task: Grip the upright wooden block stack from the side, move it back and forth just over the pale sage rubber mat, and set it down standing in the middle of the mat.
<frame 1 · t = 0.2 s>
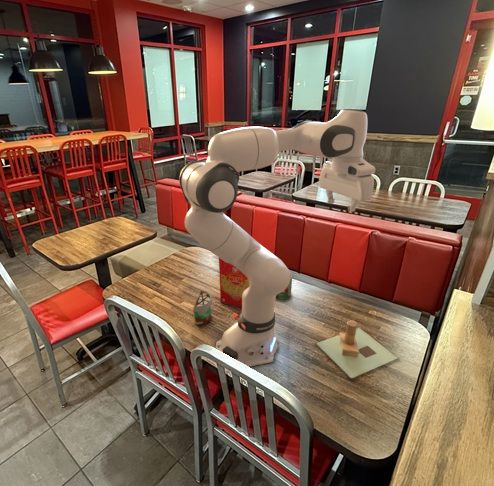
hand: (340, 206, 103), 48 cm above the table, tool pointing down, fingers open, 8 cm apart
food packaging: (238, 303, 138), on the table
wooden block stack: (347, 346, 110), point 1 cm above the table, touching mat
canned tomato: (281, 296, 141), on the table
mat: (355, 352, 108), on the table
food container: (205, 319, 129), on the table
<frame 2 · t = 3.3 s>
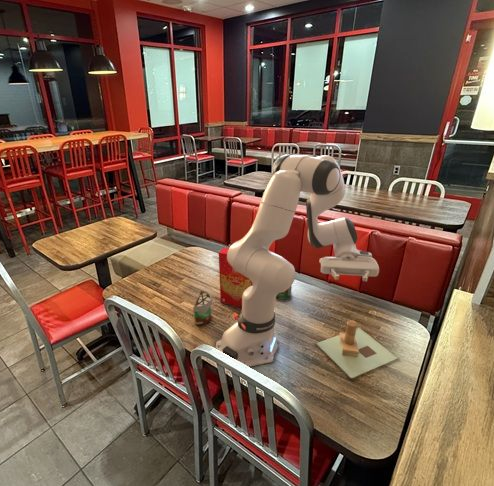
hand: (350, 278, 112), 21 cm above the table, tool horizontal, fingers open, 8 cm apart
nothing on the table moved.
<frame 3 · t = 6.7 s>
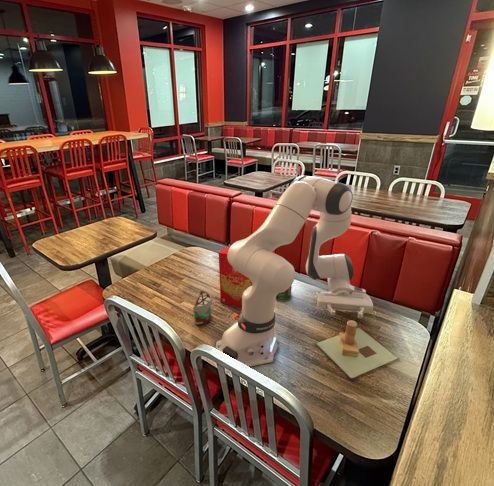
hand: (346, 315, 115), 8 cm above the table, tool horizontal, fingers open, 8 cm apart
nothing on the table moved.
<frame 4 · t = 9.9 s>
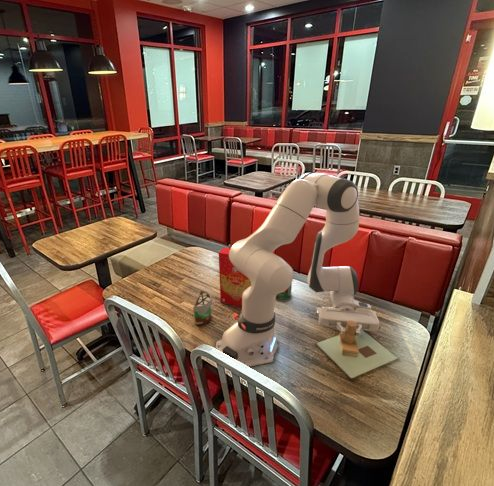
hand: (350, 334, 106), 7 cm above the table, tool horizontal, fingers closed on wooden block stack, 3 cm apart
wooden block stack: (347, 346, 110), point 1 cm above the table, touching gripper, mat
everything else where it was.
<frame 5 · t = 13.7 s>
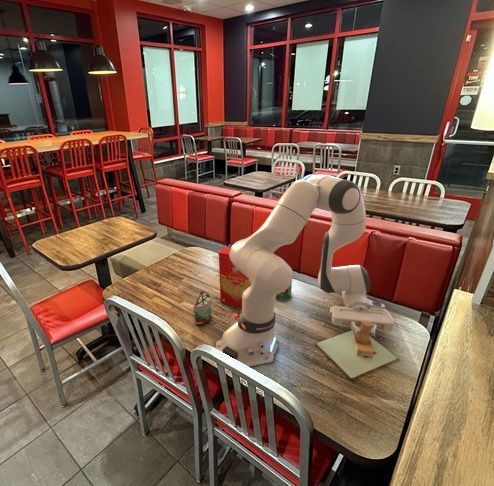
hand: (365, 333, 105), 8 cm above the table, tool horizontal, fingers closed on wooden block stack, 3 cm apart
wooden block stack: (362, 346, 108), point 2 cm above the table, touching gripper
everything else where it was.
when the fingers open (7 cm above the table, at t = 17.6 s): wooden block stack stays where it is, resting on mat.
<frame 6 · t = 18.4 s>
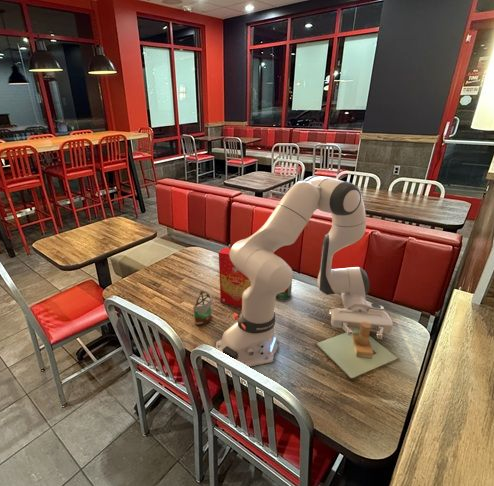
hand: (364, 335, 105), 7 cm above the table, tool horizontal, fingers open, 8 cm apart
wooden block stack: (361, 348, 109), point 1 cm above the table, touching mat
everything else where it was.
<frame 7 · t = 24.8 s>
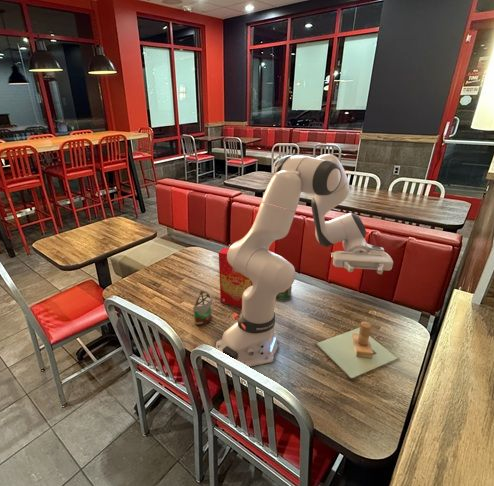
hand: (365, 271, 109), 25 cm above the table, tool horizontal, fingers open, 8 cm apart
nothing on the table moved.
at the end: wooden block stack inside the target area (2.7 cm from its centre), point 0.8 cm above the table; wooden block stack tilted 0°; wooden block stack moved 4.4 cm from its start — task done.
